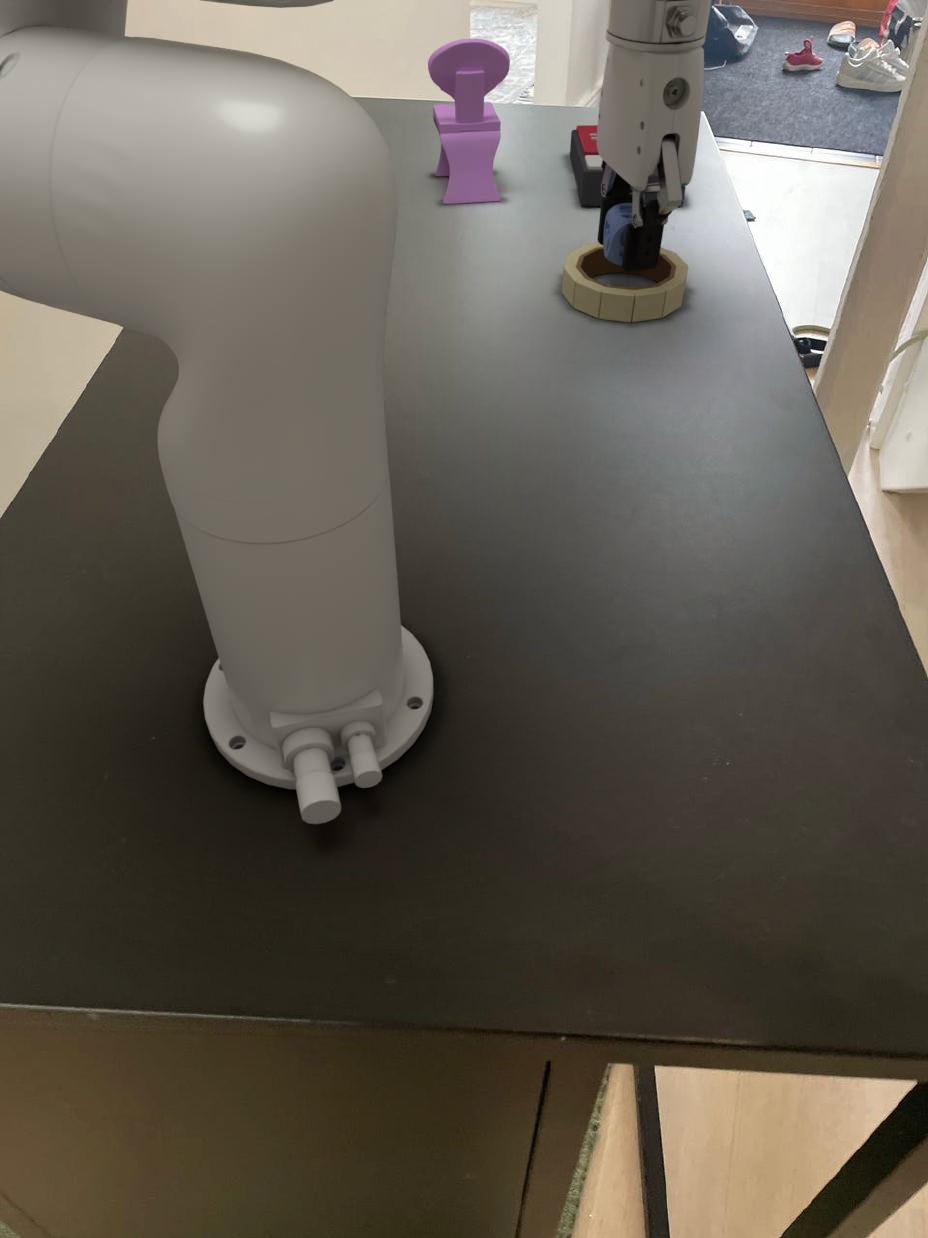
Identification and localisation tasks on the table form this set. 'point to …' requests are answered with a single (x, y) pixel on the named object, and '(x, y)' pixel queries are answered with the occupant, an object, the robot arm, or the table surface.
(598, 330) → the table surface
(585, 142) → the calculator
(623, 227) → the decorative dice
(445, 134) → the toy chair
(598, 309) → the tape roll
